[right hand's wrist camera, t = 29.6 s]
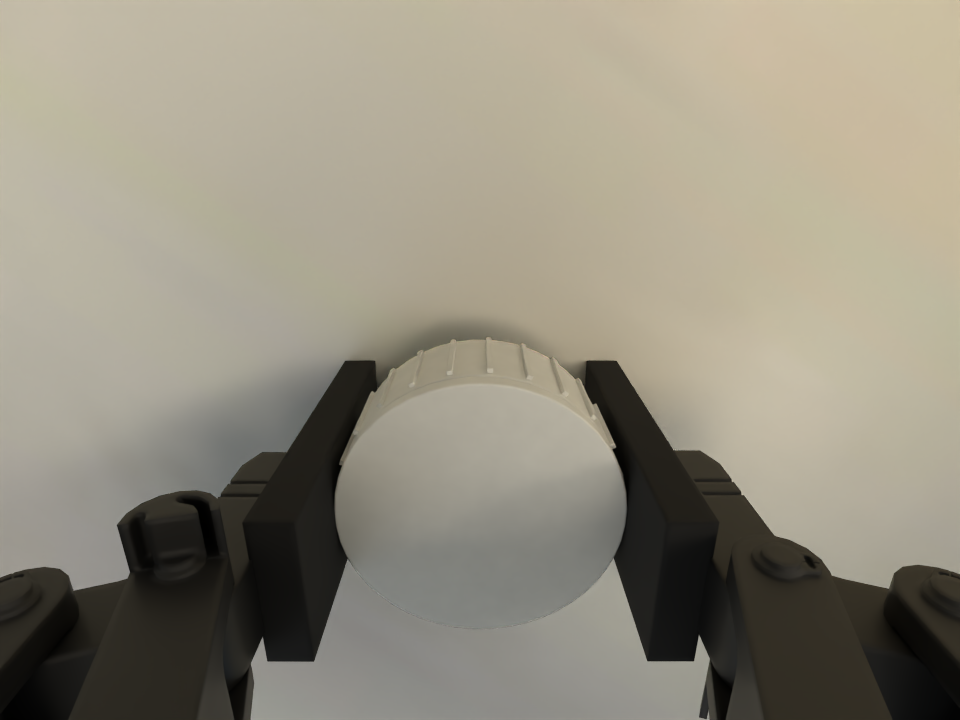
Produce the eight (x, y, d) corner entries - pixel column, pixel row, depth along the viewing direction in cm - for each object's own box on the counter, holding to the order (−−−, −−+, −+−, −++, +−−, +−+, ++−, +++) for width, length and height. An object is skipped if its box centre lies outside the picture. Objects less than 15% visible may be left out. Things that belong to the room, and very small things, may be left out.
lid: (605, 326, 11) (635, 369, 9) (603, 545, 13) (627, 624, 11) (338, 344, 12) (304, 391, 9) (374, 558, 14) (354, 639, 11)
